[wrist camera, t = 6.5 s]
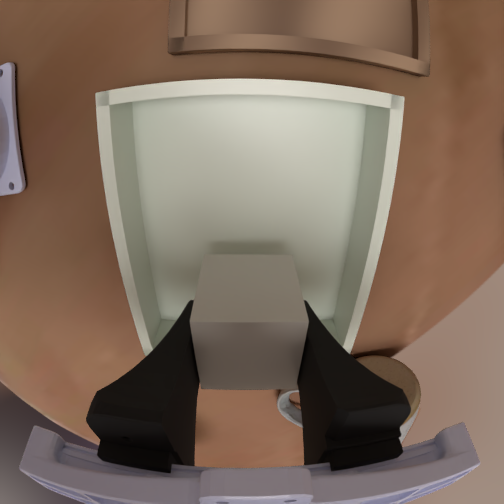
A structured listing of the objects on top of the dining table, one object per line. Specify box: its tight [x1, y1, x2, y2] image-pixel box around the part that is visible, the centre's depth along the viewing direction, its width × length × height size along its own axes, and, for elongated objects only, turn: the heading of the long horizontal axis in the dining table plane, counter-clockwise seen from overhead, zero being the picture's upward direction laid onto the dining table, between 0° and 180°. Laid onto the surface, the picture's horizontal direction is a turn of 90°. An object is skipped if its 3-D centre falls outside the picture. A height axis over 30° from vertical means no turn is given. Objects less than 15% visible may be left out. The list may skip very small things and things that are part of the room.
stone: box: [190, 254, 309, 390], centre depth 13 cm, size 4×4×4 cm
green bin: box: [96, 79, 404, 356], centre depth 14 cm, size 12×14×3 cm
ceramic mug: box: [277, 355, 421, 443], centre depth 20 cm, size 11×8×8 cm
